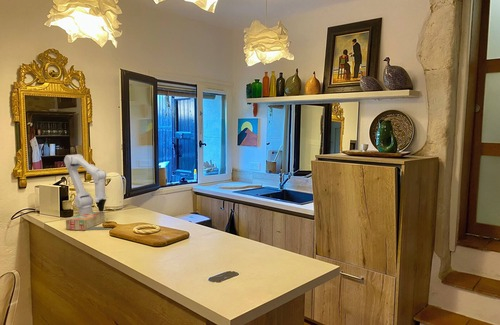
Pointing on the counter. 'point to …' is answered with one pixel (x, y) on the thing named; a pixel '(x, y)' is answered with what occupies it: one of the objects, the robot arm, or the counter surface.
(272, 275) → the counter surface
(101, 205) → the robot arm
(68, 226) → the patterned cardboard box
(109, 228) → the strip
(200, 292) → the counter surface
